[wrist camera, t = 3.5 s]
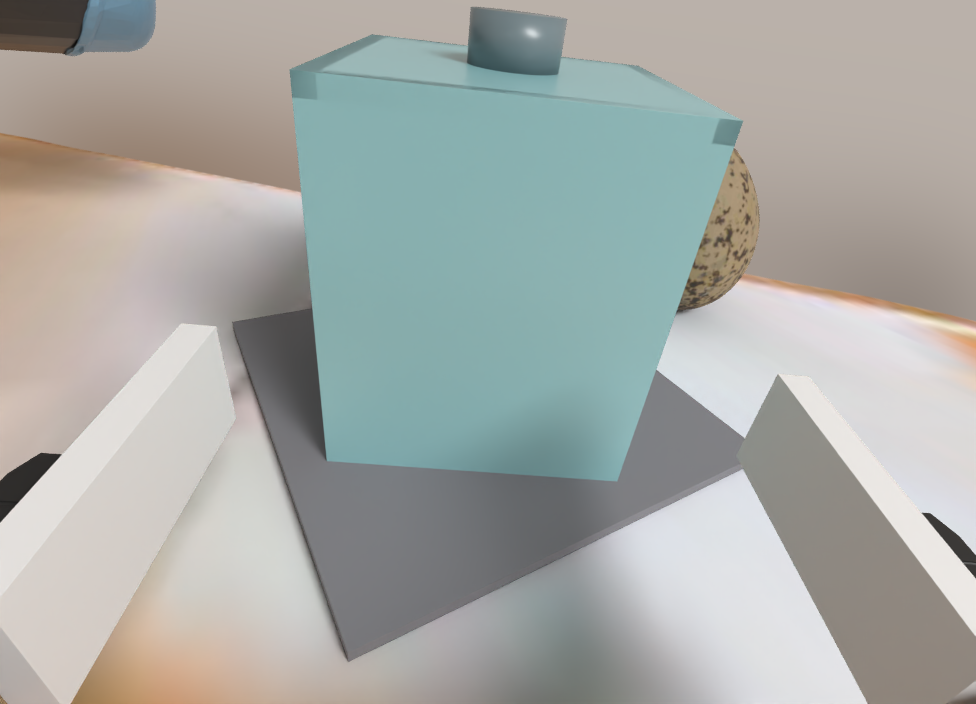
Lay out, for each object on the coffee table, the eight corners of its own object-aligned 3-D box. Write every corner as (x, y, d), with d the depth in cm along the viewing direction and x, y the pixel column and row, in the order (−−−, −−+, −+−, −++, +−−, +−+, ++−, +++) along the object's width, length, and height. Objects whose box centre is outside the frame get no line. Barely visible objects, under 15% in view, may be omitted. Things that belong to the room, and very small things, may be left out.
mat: (234, 330, 27) (232, 322, 27) (528, 278, 35) (529, 271, 35) (348, 661, 15) (347, 652, 14) (758, 461, 23) (763, 452, 23)
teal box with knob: (326, 461, 20) (282, -8, 12) (376, 311, 29) (371, -11, 21) (617, 481, 20) (767, 51, 12) (576, 329, 30) (648, 23, 21)
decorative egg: (618, 269, 38) (658, 120, 32) (722, 292, 37) (782, 141, 31) (607, 316, 32) (653, 144, 27) (730, 344, 31) (805, 170, 25)
